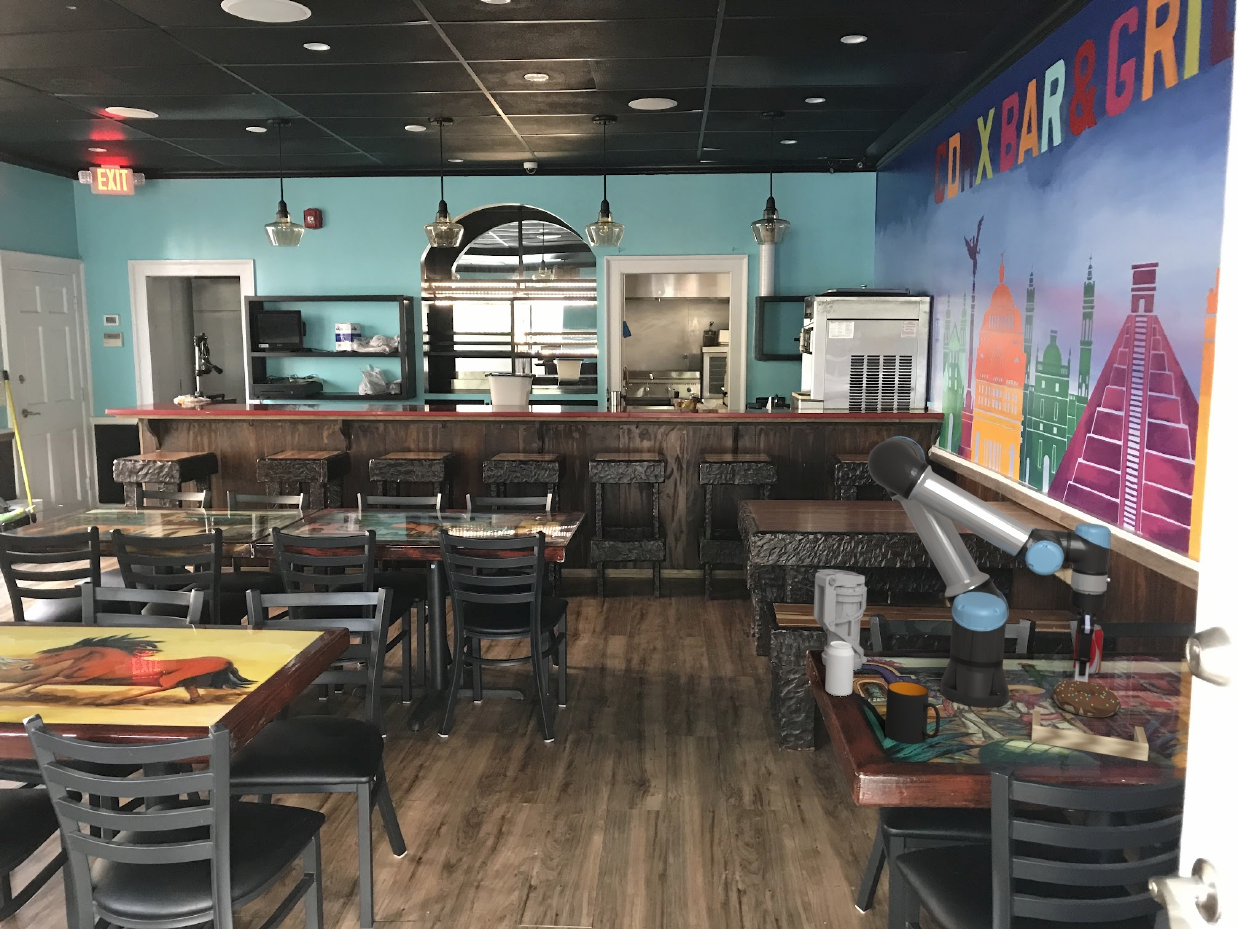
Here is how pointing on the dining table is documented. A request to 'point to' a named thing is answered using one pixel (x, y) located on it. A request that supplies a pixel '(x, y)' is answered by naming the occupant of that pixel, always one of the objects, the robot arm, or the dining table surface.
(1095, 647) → the beverage can
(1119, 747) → the oak rail
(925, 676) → the dining table surface
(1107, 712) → the donut
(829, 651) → the beverage can
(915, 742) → the mug
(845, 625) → the grey mechanical part
